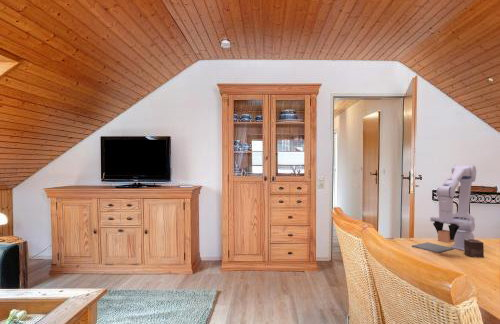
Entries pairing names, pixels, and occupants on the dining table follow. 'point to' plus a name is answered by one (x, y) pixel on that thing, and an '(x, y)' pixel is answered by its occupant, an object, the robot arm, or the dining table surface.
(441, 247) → the mat
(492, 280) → the dining table surface
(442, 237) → the cube
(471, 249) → the box
